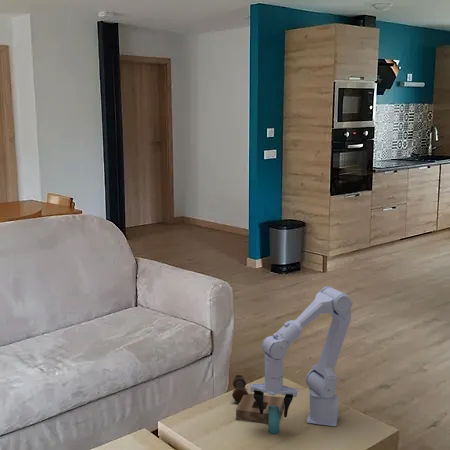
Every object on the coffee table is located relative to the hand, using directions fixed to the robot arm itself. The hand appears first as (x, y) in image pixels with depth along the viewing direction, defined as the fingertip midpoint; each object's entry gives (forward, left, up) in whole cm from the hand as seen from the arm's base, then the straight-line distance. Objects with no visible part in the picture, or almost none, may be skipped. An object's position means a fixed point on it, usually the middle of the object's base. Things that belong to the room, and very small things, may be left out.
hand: (273, 414), depth 188 cm
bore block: (+6, -10, -6) cm, 13 cm away
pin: (0, 0, -6) cm, 6 cm away
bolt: (+16, -22, -6) cm, 28 cm away
